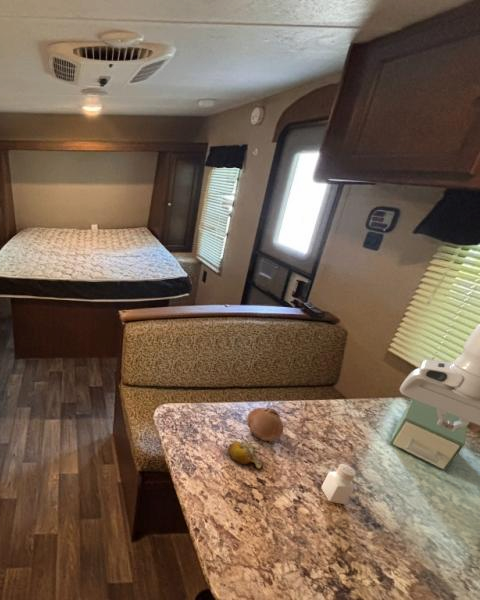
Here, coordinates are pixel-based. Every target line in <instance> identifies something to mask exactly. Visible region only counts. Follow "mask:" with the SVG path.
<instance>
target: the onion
mask: <svg viewBox="0 0 480 600" xmlns="http://www.w3.org/2000/svg"><path fill="white" fill-rule="evenodd" d="M246 424H247V426H248V428H249V431H250V433H251V434H252V435H253V436H254V437H255V438H257V439H260V440H262V441H263V442H266V441H269V442H273V441H276V440H278V439H279V438H280V437H281V436H282V434H283V432H284V422H283V421H282V419H281V415H280V414H279V413H278V410H277V411H276V410H275V409H274V408H270V407H256V408H253V409H251V411H249V413H248V414H247V418H246Z"/></svg>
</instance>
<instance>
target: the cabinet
mask: <svg viewBox="0 0 480 600" xmlns="http://www.w3.org/2000/svg"><path fill="white" fill-rule="evenodd" d="M437 410H438V409H437V408H435V407H432V406H430V405H427V404H425V403H422V402H420V401H417V400H415V399H412V398H411V399H410V401H409V402H408V404H407V406H406V408H405V409H404V411H403V413H402V414H401V416H400V417H399V420H398V421H397V424H396V426H395V429H394V431H393V434H392V436H391V439H390V441H389V444H391V445H393V446H395V447H397V448H399V449H400V450H403V451H405V452H407V453H409V454H411V455H413V456H415V457H417V458H419V459H421V460H423V461H425V462H426V463H429V464H431V465H433V466H435V467H437V468H439V469H441V470H443V471H446V470H447V469H448V468H449V466H450V465H451V464H452V463H453V461H454V460H455V459H456V457H457V456H458V454H459V453H460V452H461V450H462V449H463V448H464V446H465V444H466V438H467V429H468V425H466V426H462V427H457V429H456V430H455V431H454V432H452V431H450V430H448V429H445V428H443V427H441V426H438V425H437V422H438V420H439V417H438V414H437ZM444 418H445V419H447V420H450V421H452V422H456V421H459V420H460V417H457V416H455V415H452V414H450V413H447V414H446V415H444ZM406 422H410V423H413V424H415V425H417V426H419V427H422V428H424V429H426V430H428V431H430V432H433V433H435V434H437V435H439V436H442V437H444V438H446V439H448V440H451V441H453V442H455V443H456V444H458V445H460V446H459V449H458V450H457V451H456V453H455V454H454V455H453V457H452V458H451V459H450V461H449V462H448V464H447V465H446V466H445V468H444V469H442V468H440V467H438V466H436V465H434V464H432V463H430V462H428V461H426V460H424V459H422V458H420V457H418V456H416V455H414V454H412V453H410V452H408V451H406V450H404V449H402V448H400V447H398V446H396V445H394V444H393V443H394V441H395V439H396V438H397V436H398V434H399V433H400V431H401V430H402V428H403V426H404V425H405V423H406Z"/></svg>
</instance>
